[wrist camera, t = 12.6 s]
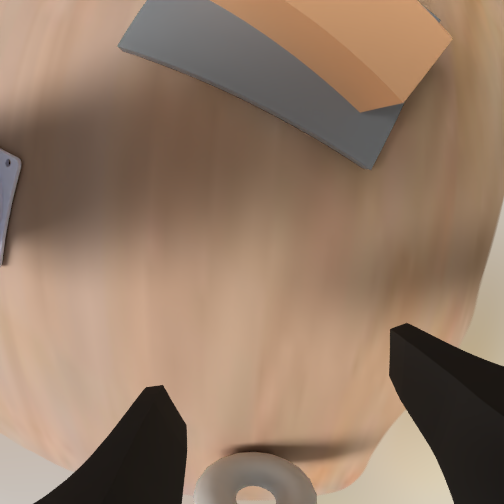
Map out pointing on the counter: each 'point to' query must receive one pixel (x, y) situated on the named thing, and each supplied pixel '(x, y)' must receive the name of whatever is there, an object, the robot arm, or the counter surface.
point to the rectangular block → (353, 42)
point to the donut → (253, 479)
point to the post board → (256, 73)
